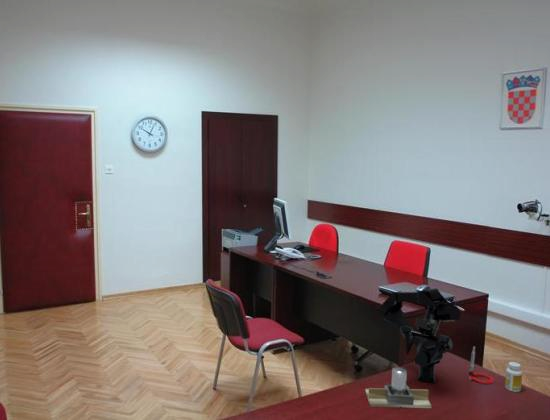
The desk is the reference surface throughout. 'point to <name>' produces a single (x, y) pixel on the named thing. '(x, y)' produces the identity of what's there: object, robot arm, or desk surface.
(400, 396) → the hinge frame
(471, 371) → the tow hook
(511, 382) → the supplement bottle
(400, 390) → the silver metal cylinder
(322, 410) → the desk surface
